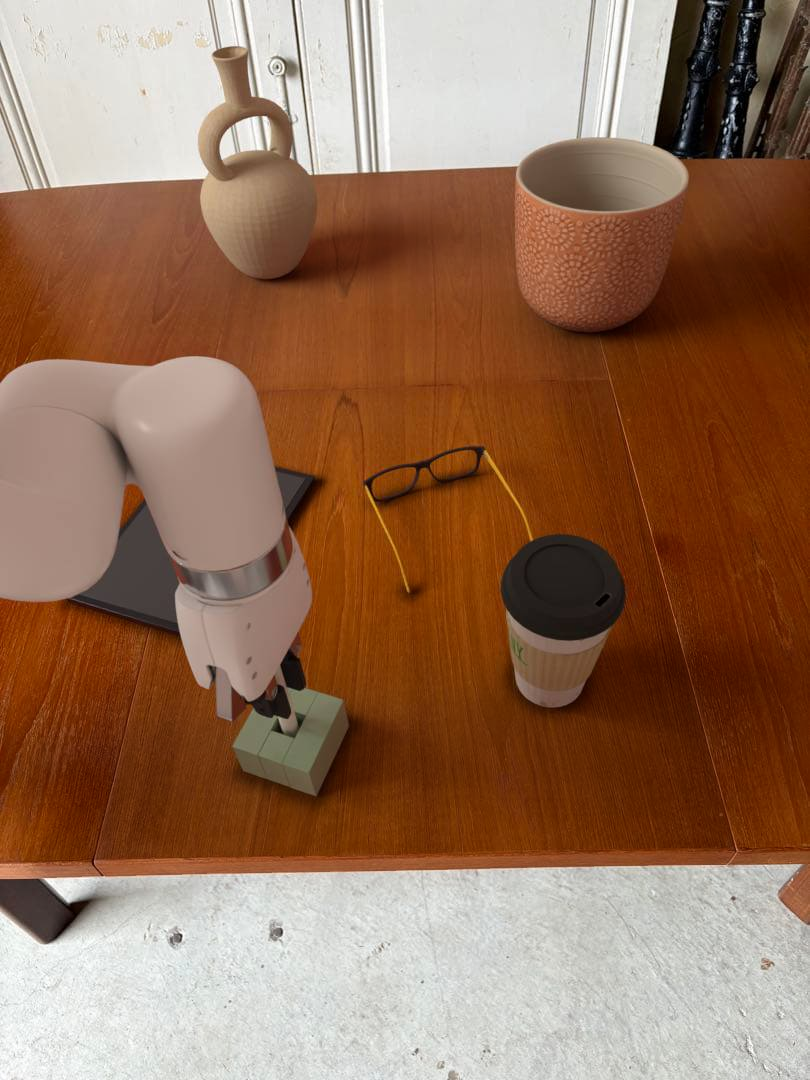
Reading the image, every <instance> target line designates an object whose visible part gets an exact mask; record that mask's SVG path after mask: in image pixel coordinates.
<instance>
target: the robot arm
mask: <svg viewBox="0 0 810 1080" xmlns="http://www.w3.org/2000/svg"><path fill="white" fill-rule="evenodd" d="M265 425H266V424H265V420H264V417H263V413H262V408H261V403H260V400H259V397H258V393H257V391H256V389H255V387H254V385H253V384H252V382H251V381H250V379H249V377H248V376H247V375H246V374H245V373H244V372H243V371H242V370H241V369H240V368H238V367H237V366H236V365H233V364H232V363H230V362H228V361H225V360H222V359H219V358H215V357H209V356H202V355H201V356H199V355H194V356H193V355H192V356H181V357H176V358H175V357H174V358H171V359H168V360H167V359H166V360H165V361H161V362H160V363H157V364H154V365H135V364H133V365H132V364H131V365H130V364H122V363H121V364H119V363H109V362H101V361H100V362H99V361H91V360H90V361H89V360H79V359H63V358H61V359H60V358H59V359H58V358H56V359H55V358H54V359H42V360H41V359H40V360H36V361H31V362H28V363H24V364H22V365H19V366H18V367H16V368H14V369H13V370H11V371H10V372H9V373H8V374H7V375H6V376H5V377H4V378H3V379H2V380H1V382H0V599H5V600H11V601H16V602H17V601H18V602H28V603H46V602H47V603H49V602H50V603H51V602H56V601H62V600H67V599H66V598H70V597H73V596H75V595H77V594H79V593H82V592H84V591H86V590H88V589H89V588H90V587H91V586H92V585H94V584H95V583H96V582H97V581H98V580H99V579H100V578H101V577H102V576H103V574H104V573H105V571H106V570H107V568H108V567H109V565H110V563H111V561H112V558H113V556H114V553H115V549H116V545H117V541H118V535H119V530H120V529H121V528H120V527H121V522H122V516H123V515H122V514H123V507H124V499H125V492H126V486H128V485H134V486H136V487H138V488H139V489H140V491H141V493H142V495H143V499H145V500H146V503H147V505H148V508H149V510H150V512H151V515H152V517H153V520H154V522H155V524H156V527H157V529H158V532H159V534H160V536H161V539H162V541H163V543H164V546H165V548H166V551H167V553H168V556H169V558H170V560H171V563H172V565H173V568H174V570H175V572H176V575H177V577H178V580H179V582H180V584H179V586H178V588H177V590H176V592H175V604H176V614H177V621H178V626H179V631H180V635H181V637H180V639H181V643H182V646H183V649H184V652H185V656H186V659H187V661H188V664H189V667H190V669H191V672H192V675H193V677H194V679H195V681H196V683H197V684H198V685H199V686H200V687H202V688H204V689H206V690H209V691H210V690H211V689H212V686H214V683H215V707H216V708H215V715H216V718H219V719H222V720H225V721H228V722H231V723H235V722H236V721H237V719H239V718H240V717H241V715H242V714H243V713H244V712H245V711H246V710H247V706H248V705H250V706H252V709H253V708H254V710H255V711H256V712H257V713H258V714H260V715H262V716H265V717H268V718H273V716H274V715H275V716H278V717H281V718H284V719H289V717H290V715H291V708H290V704H289V701H288V698H287V695H286V691H285V688H284V687H283V686H282V685H279V684H277V682H276V679H275V676H274V674H275V672H276V671H277V669H278V667H279V665H280V667H281V670H282V673H283V677H284V680H285V683H286V686H287V687H288V688H291V689H294V690H297V691H301V690H304V688H306V686H307V680H306V675H305V672H304V669H303V666H302V662H301V658H300V657H298V656H299V655H300V652H301V650H302V640H301V636H300V632H299V631H300V629H301V627H302V626H303V623H304V622H305V620H306V618H307V616H308V614H309V611H310V609H311V606H312V603H313V590H312V583H311V579H310V574H309V571H308V568H307V567H308V566H307V564H306V561H305V557H304V555H303V552H302V550H301V547H300V544H299V542H298V540H297V538H296V536H295V534H294V531H293V530H292V528H291V527H290V524H289V525H288V521H287V517H286V513H285V509H284V504H283V500H282V496H281V492H280V488H279V484H278V480H277V475H276V471H275V467H276V466H275V463H274V460H273V459H274V458H273V454H272V451H271V446H270V442H269V437H268V434H267V429H266V426H265Z"/></svg>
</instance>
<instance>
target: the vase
mask: <svg viewBox="0 0 810 1080" xmlns="http://www.w3.org/2000/svg"><path fill="white" fill-rule="evenodd" d="M210 57H211V59H212V61H213V62H214V65H215V66H216V67H215V68H216V70H217V72H218V75H219V79H220V82H221V85H222V88H223V93H224V98H225V102H223V103H221V104H219V105H217V106H216V107H215V108H213V109H211V111H210V112H209V113H208V114H206V116H205V117H204V119H203V121H202V123H201V125H200V127H199V130H198V134H197V147H198V148H197V149H198V154H199V157H200V159H201V162H202V164H203V166H204V167H205V169H206V170H207V171H208V173H207V174H206V176H205V178H204V179H203V182H202V184H201V190H200V193H199V194H200V196H199V199H200V202H199V204H200V208H201V213H202V217H203V220H204V222H205V224H206V227H207V230H208V231H209V232H210V234H211V237H212V238H213V240H214V242H216V244H217V246H218V247H219V250H221V251H222V253H223V254H224V256H226V258H227V259H228V260H229V262H230V263H231V264H232V265H234V267H235V268H236V269H238V270H239V271H240V272H242V273H243V274H244V275H246V276H248V277H251V278H255V279H259V280H272V279H277V278H281V277H283V276H285V275H287V274H289V273H290V272H292V271H293V270H294V269H296V267H297V266H298V265H299V263H300V262H301V260H302V258H303V256H304V255H305V252H306V251H307V249H308V246H309V244H310V241H311V238H312V235H313V232H314V228H315V224H316V220H317V213H318V197H317V190H316V186H315V183H314V181H313V179H312V177H311V176H310V173H308V171H307V170H306V169H305V168H304V167H303V166H302V165H301V164H300V163H299V162H298V161H296V160H295V159H293V158H292V157H291V153H292V149H293V129H292V124H291V121H290V118H289V116H288V114H287V112H286V111H284V109H283V108H282V107H281V106H280V105H279V104H278V103H276V102H275V101H272V100H271V99H268V98H265V97H262V96H261V97H259V96H252V91H251V85H250V77H249V64H248V61H249V59H248V58H249V50H248V48H246V47H244V46H240V45H229V46H224V47H221V48H218V49H216V50H214V51H213V52H212V53H211V56H210ZM255 117H266V118H267V120H268V123H269V126H270V141H269V150H267V149H265V150H264V149H253V150H252V149H251V150H245V151H240V152H235V153H234V154H231V155H229V156H227V157H225V158H222V156H221V149H220V146H221V142H222V139H223V137H224V135H225V134H226V133H227V131H228V130H229V129H230V128H232V127H233V126H234V125H236V124H238V123H239V122H241V121H244V120H247V119H250V118H255Z"/></svg>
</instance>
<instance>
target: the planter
mask: <svg viewBox="0 0 810 1080" xmlns="http://www.w3.org/2000/svg"><path fill="white" fill-rule="evenodd" d="M514 183H515V184H514V254H515V267H516V274H517V282H518V286H519V287H518V288H519V290H520V293H521V295H522V297H523V299H524V301H525V302H526V304H527V305H528V307H529V308H530V309H531V310H532V311H533V312H534V313H535V314H536V315H537V316H538V317H539V318H541V319H542V320H543V321H545V322H547V323H549V324H551V325H553V326H555V327H557V328H558V329H559V328H560V329H563V330H566V331H571V332H578V333H598V332H605V331H610V330H613V329H616V328H619V327H620V326H621V327H622V326H623V325H626V324H627V323H629V322H631V321H632V320H634V319H635V318H637V317H638V316H640V315H641V314H642V313H643V312H644V311H645V310H646V309H647V308H648V307H649V306H650V304H651V303H652V302H653V300H654V298H655V297H656V295H657V293H658V291H659V289H660V286H661V283H662V281H663V278H664V276H665V273H666V270H667V267H668V264H669V261H670V258H671V255H672V251H673V248H674V244H675V240H676V236H677V233H678V230H679V227H680V222H681V218H682V215H683V210H684V206H685V201H686V198H687V192H688V189H689V183H690V173H689V171H688V169H687V167H686V165H685V164H684V163H683V161H682V160H680V159H679V158H678V157H677V156H675V155H674V154H673V153H670V152H669V151H667V150H665V149H663V148H661V147H659V146H656V145H653V144H649V143H646V142H643V141H638V140H634V139H633V140H632V139H629V138H628V139H627V138H621V137H605V136H594V137H578V138H571V139H566V140H561V141H557V142H553V143H549V144H547V145H544V146H542V147H539V148H537V149H535V150H534V151H532V152H530V153H529V154H527V155H526V156H525V157H523V159H522V160H521V161H520V162H519V164H518V165H517V168H516V171H515V182H514Z"/></svg>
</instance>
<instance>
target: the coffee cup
mask: <svg viewBox="0 0 810 1080" xmlns="http://www.w3.org/2000/svg"><path fill="white" fill-rule="evenodd" d="M500 596H501V600H502V603H503V605H504V607H505V616H506V625H507V633H508V640H509V648H510V657H511V661H512V662H511V663H512V665H513V669H514V678H515V682H516V686H517V688H518V690H519V691H520V693H521V694H522V695H523V697H525V698H526V699H527V700H528V701H530V702H532V703H533V704H535V705H537V706H540V707H545V708H553V709H554V708H560V707H564V706H567V705H569V704H571V703H573V702H574V701H576V699H577V698H578V697H579V696H580V695H581V693H582V690H583V689H584V686H585V683H587V682H586V681H587V680H588V678H589V677H590V676H591V674H592V672H593V670H594V668H595V666H596V663H597V661H598V659H599V657H600V654H601V652H602V650H603V648H604V645H605V644H606V641H607V639H608V637H609V635H610V633H611V630H612V627H613V626H614V625H615V623H616V622H617V621H619V620H618V619H620V617H621V615H622V613H623V612H624V610H625V606H626V600H627V594H626V584H625V581H624V577H623V574H622V573H621V570H620V569H619V568H618V564H617V562H616V561H615V560H614V558H613V556H612V555H611V554H610V553H609V552H608V551H607V550H606V549H605V548H604V547H602V546H600V545H599V544H598V543H596V542H594V541H592V540H590V539H588V538H585V537H582V536H578V535H573V534H564V533H563V534H562V533H556V534H547V535H544V536H543V535H542V536H540V537H537V538H534V539H533V540H532V541H530V540H529V542H527V543H526V544H524V545H523V546H522V547H521V548H520V549H519V550H518V551H517V552H516V553H515V555H513V557H511V559H509V561H508V563H507V565H506V567H505V568H504V570H503V573H502V577H501V580H500Z"/></svg>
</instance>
